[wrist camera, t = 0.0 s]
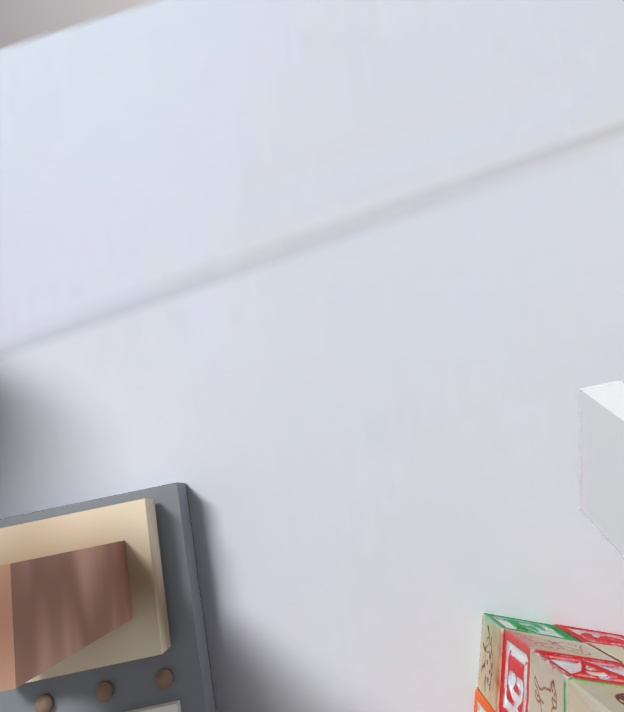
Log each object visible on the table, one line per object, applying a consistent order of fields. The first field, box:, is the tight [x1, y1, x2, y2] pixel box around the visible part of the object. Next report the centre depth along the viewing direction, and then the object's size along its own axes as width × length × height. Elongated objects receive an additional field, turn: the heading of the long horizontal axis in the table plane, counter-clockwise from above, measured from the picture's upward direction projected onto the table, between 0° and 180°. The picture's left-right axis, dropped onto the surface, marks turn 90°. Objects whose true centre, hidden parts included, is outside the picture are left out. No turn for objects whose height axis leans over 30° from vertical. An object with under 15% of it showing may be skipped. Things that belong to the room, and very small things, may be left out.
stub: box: [0, 498, 171, 692], centre depth 18 cm, size 6×7×9 cm
